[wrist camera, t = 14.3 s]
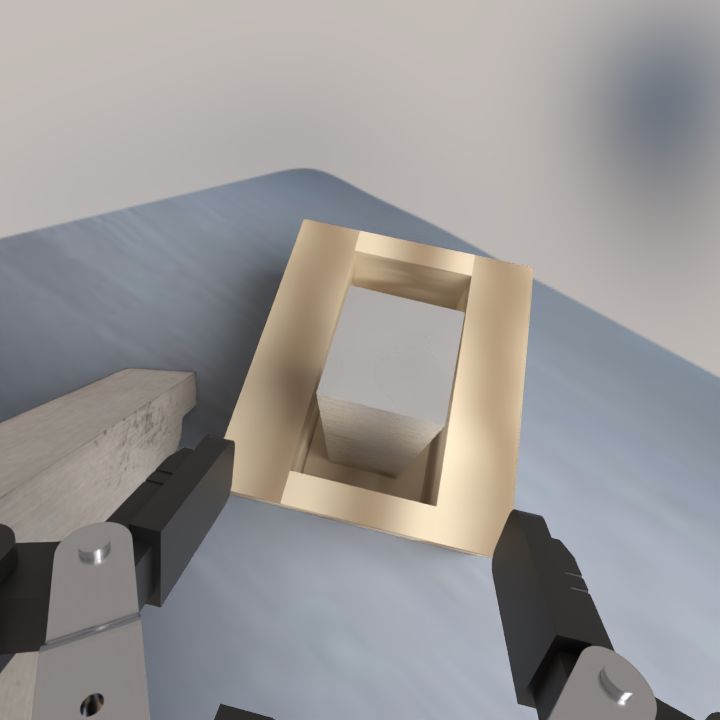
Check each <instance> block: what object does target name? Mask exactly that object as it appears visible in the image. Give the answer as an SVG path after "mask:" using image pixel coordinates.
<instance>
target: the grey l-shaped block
mask: <svg viewBox="0 0 720 720" xmlns="http://www.w3.org/2000/svg"><path fill="white" fill-rule="evenodd" d="M464 315H465V312H461V311H457V310H453V309H449V308H444V307H440V306H436V305H432V304H427V303H423V302H419V301H415V300H410V299H406V298H402V297H398V296H394V295H389V294H385V293H381V292H377V291H372V290H368V289H364V288H360V287H355V286H351V285H350V286H349V289H348V292H347V295H346V299H345V302H344V305H343V308H342V312H341V315H340V318H339V321H338V324H337V328H336V331H335V334H334V337H333V341H332V344H331V347H330V350H329V354H328V357H327V360H326V363H325V366H324V370H323V373H322V376H321V379H320V383H319V386H318V389H317V392H316V394H317V399H318V404H319V410H320V415H321V420H322V425H323V431H324V436H325V441H326V446H327V451H328V457H329V462H332V463H336V464H340V465H344V466H348V467H351V468H355V469H359V470H363V471H366V472H370V473H374V474H378V475H382V476H385V477H389V478H393V479H396V478H397V477H398V476H399V475H400V473H401V472H402V471H403V470H404V469H405V468H406V467H407V466H408V465H409V464H410V463H411V462H412V461H413V460H414V458H415V457H416V456H417V455H418V454H419V453H420V452H421V451H422V450H423V449H424V448H425V447H426V446H427V445H428V443H429V442H430V441H431V440H432V439H433V438H434V437H435V436H436V435H437V434H438V433H439V432H440V431H441V430H442V428H443V427H444V426H445V423H446V418H447V412H448V406H449V401H450V395H451V389H452V383H453V378H454V372H455V366H456V361H457V355H458V349H459V344H460V338H461V332H462V326H463V321H464Z"/></svg>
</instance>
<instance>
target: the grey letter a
mask: <svg viewBox="0 0 720 720" xmlns="http://www.w3.org/2000/svg"><path fill="white" fill-rule="evenodd" d="M196 401H197V399H196V372H184V371H167V370H150V369H133V368H126V369H123V370H121V371H119V372H116V373H114V374H112V375H109V376H107V377H105V378H103V379H100V380H98V381H96V382H93V383H91V384H89V385H86V386H84V387H82V388H79V389H77V390H75V391H72V392H70V393H68V394H66V395H63V396H61V397H59V398H56V399H54V400H52V401H49V402H47V403H45V404H42V405H40V406H38V407H36V408H33V409H31V410H29V411H26V412H24V413H22V414H19V415H17V416H15V417H12V418H10V419H8V420H5V421H3V422H1V423H0V524H4V525H6V526H8V527H10V528H11V529H12V530H13V532H14V533H15V539H16V543H26V542H56V541H62V540H63V539H64V538H65V537H67V536H68V535H69V534H70V533H72V532H74V531H75V530H77V529H79V528H81V527H84V526H86V525H90V524H93V523H99V522H105V521H106V520H107V519H108V518H109V517H110V516H111V515H112V514H113V513H114V512H115V511H116V510H117V509H118V508H119V506H120V505H121V504H122V503H123V502H124V501H125V500H126V499H127V498H128V497H129V496H130V495H131V494H132V493H133V492H134V491H135V490H136V489H137V488H138V487H139V486H140V485H141V484H142V483H143V482H145V481H146V479H147V477H148V476H149V475H150V474H151V473H152V472H153V471H154V472H155V470H156V468H157V467H158V466H159V465H160V464H161V463H162V462H163V461H164V460H165V459H166V458H167V457H168V456H170V455H172V454H174V453H176V451H177V448H178V445H179V442H180V439H181V435H182V423H183V417H184V416H185V415H186V414H187V413H188V412H189V411H191V410H192V409H193V408H194V407H195V406H196ZM38 655H39V651H37V652H26V653H16V654H15V656H14V657H13V658H12V659H11V661H10V662H9V663H8V664H7V666H6V667H5V668H4V669H3V671H2V672H1V673H0V720H31V716H32V707H33V698H34V689H35V680H36V670H37V662H38Z"/></svg>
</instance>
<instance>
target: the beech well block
mask: <svg viewBox="0 0 720 720" xmlns="http://www.w3.org/2000/svg"><path fill="white" fill-rule="evenodd" d="M533 269H534V268H533V267H528V266H523V265H519V264H514V263H509V262H505V261H500V260H495V259H491V258H486V257H481V256H476V255H472V254H467V253H462V252H458V251H453V250H448V249H444V248H439V247H434V246H429V245H425V244H420V243H415V242H411V241H406V240H401V239H396V238H392V237H387V236H382V235H378V234H373V233H368V232H364V231H359V230H354V229H349V228H345V227H340V226H335V225H331V224H326V223H321V222H316V221H312V220H307V219H304V221H303V223H302V226H301V229H300V232H299V234H298V237H297V240H296V243H295V245H294V248H293V251H292V253H291V256H290V259H289V262H288V264H287V267H286V270H285V273H284V275H283V278H282V281H281V284H280V286H279V289H278V292H277V295H276V297H275V300H274V303H273V306H272V308H271V311H270V314H269V316H268V319H267V322H266V325H265V327H264V330H263V333H262V336H261V338H260V341H259V344H258V347H257V349H256V352H255V355H254V358H253V360H252V363H251V366H250V369H249V371H248V374H247V377H246V379H245V382H244V385H243V388H242V390H241V393H240V396H239V399H238V401H237V404H236V407H235V410H234V412H233V415H232V418H231V421H230V423H229V426H228V429H227V432H226V434H225V437H224V439H228V440H232V441H234V442H235V455H234V467H233V478H232V486H231V491H230V493H231V494H234V495H236V496H240V497H244V498H248V499H252V500H256V501H260V502H264V503H267V504H271V505H275V506H279V507H283V508H287V509H291V510H295V511H299V512H303V513H307V514H311V515H315V516H319V517H323V518H327V519H331V520H335V521H339V522H343V523H347V524H351V525H355V526H358V527H362V528H366V529H370V530H374V531H378V532H382V533H386V534H390V535H394V536H398V537H402V538H406V539H410V540H414V541H418V542H422V543H426V544H430V545H434V546H438V547H442V548H446V549H449V550H453V551H457V552H461V553H465V554H469V555H475V556H481V557H487V558H493V553H494V549H495V547H496V544H497V542H498V540H499V537H500V535H501V533H502V530H503V528H504V525H505V523H506V521H507V518H508V516H509V514H510V512H511V511H512V510H513V509H514V497H515V485H516V473H517V461H518V449H519V437H520V425H521V413H522V401H523V389H524V377H525V365H526V353H527V341H528V329H529V317H530V305H531V293H532V281H533ZM350 285H351V286H355V287H360V288H364V289H368V290H372V291H377V292H381V293H385V294H389V295H394V296H398V297H402V298H406V299H410V300H415V301H419V302H423V303H427V304H432V305H436V306H440V307H444V308H449V309H453V310H457V311H461V312H465V315H464V321H463V326H462V332H461V338H460V344H459V349H458V355H457V361H456V366H455V372H454V378H453V383H452V389H451V395H450V401H449V406H448V412H447V418H446V423H445V426H444V427H443V428H442V430H441V431H440V432H439V433H438V434H437V435H436V436H435V437H434V438H433V439H432V440H431V441H430V442H429V443H428V445H427V446H426V447H425V448H424V449H423V450H422V451H421V452H420V453H419V454H418V455H417V456H416V457H415V458H414V460H413V461H412V462H411V463H410V464H409V465H408V466H407V467H406V468H405V469H404V470H403V471H402V472H401V473H400V475H399V476H398V477H397V478H396V479H393V478H389V477H385V476H382V475H378V474H374V473H370V472H366V471H363V470H359V469H355V468H351V467H348V466H344V465H340V464H336V463H332V462H329V457H328V451H327V446H326V441H325V436H324V431H323V425H322V420H321V415H320V410H319V404H318V399H317V394H316V392H317V389H318V386H319V383H320V379H321V376H322V373H323V370H324V366H325V363H326V360H327V357H328V354H329V350H330V347H331V344H332V341H333V337H334V334H335V331H336V328H337V324H338V321H339V318H340V315H341V312H342V308H343V305H344V302H345V299H346V295H347V292H348V289H349V286H350Z"/></svg>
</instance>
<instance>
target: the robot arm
mask: <svg viewBox="0 0 720 720" xmlns="http://www.w3.org/2000/svg"><path fill="white" fill-rule="evenodd" d="M234 455H235V442H234V441H232V440H228V439H224V438H220V437H216V436H211V435H207V436H206V437H205V438H204V439H203V440H202V441H201V443H200V444H199V445H198V446H197V447H196V448H195V449H194V450H192V449H188V448H183V449H181V450H180V451H178V452H176V453H174V454H172V455H170V456H168V457H167V458H166V459H165V460H164V461H163V462H162V463H161V464H160V465H159V466H158V467H157V468H156V470H155V472H154V471H153V472H152V473H151V474H150V475H149V476H148V477H147V479H146V481H145V482H143V483H142V484H141V485H140V486H139V487H138V488H137V489H136V490H135V491H134V492H133V493H132V494H131V495H130V496H129V497H128V498H127V499H126V500H125V501H124V502H123V503H122V504H121V505H120V506H119V508H118V509H117V510H116V511H115V512H114V513H113V514H112V515H111V516H110V517H109V518H108V519H107V520H106V521H105V522H99V523H93V524H90V525H86V526H84V527H81V528H79V529H77V530H75V531H74V532H72V533H70V534H69V535H68V536H67V537H65V538H64V539H63V540H62V541H56V542H26V543H16V539H15V533H14V532H13V530H12V529H11V528H10V527H8V526H6V525H4V524H0V673H1V672H2V671H3V669H4V668H5V667H6V666H7V664H8V663H9V662H10V661H11V659H12V658H13V657H14V656H15V654H16V653H26V652H37V651H39V655H38V662H37V670H36V680H35V689H34V698H33V707H32V716H31V720H150V709H149V699H148V688H147V677H146V667H145V656H144V645H143V635H142V624H141V616H140V614H139V612H140V611H141V609H142V608H143V606H144V605H145V603H146V604H150V605H154V606H157V607H161V606H162V604H163V603H164V601H165V600H166V598H167V596H168V595H169V593H170V592H171V590H172V588H173V587H174V585H175V584H176V582H177V580H178V579H179V577H180V576H181V574H182V572H183V571H184V569H185V568H186V566H187V565H188V563H189V561H190V560H191V558H192V557H193V555H194V553H195V552H196V550H197V549H198V547H199V545H200V544H201V542H202V541H203V539H204V537H205V536H206V534H207V533H208V531H209V530H210V528H211V526H212V525H213V523H214V522H215V520H216V518H217V517H218V515H219V514H220V512H221V510H222V509H223V507H224V506H225V504H226V502H227V499H228V497H229V494H230V491H231V486H232V478H233V467H234ZM492 574H493V579H494V584H495V590H496V595H497V600H498V605H499V610H500V615H501V620H502V625H503V630H504V636H505V641H506V646H507V651H508V656H509V661H510V666H511V671H512V676H513V681H514V687H515V692H516V697H517V702H518V704H521V705H525V706H529V707H532V708H536V709H537V714H538V718H539V720H695V719H693V718H691V717H689V716H687V715H686V714H684V713H682V712H680V711H678V710H677V709H675V708H673V707H671V706H669V705H668V704H666V703H664V702H662V701H661V700H659V699H657V698H656V697H654V694H653V692H652V690H651V688H650V686H649V684H648V683H647V681H646V680H645V678H644V677H643V676H642V675H641V673H640V672H639V671H638V670H637V669H636V668H635V667H634V666H633V665H632V664H631V663H630V662H629V661H627V660H626V659H625V658H623V657H622V656H621V655H619V654H617V653H616V652H615V651H614V649H613V646H612V644H611V642H610V639H609V637H608V635H607V632H606V630H605V628H604V625H603V623H602V621H601V619H600V616H599V614H598V612H597V609H596V607H595V605H594V602H593V600H592V598H591V595H590V594H588V588H587V586H586V584H585V581H584V579H582V574H581V572H580V570H579V568H578V565H577V563H576V561H575V558H574V557H573V555H572V554H571V553H570V552H569V551H568V549H567V548H566V547H565V546H564V545H563V543H562V542H561V541H560V540H558V539H554V538H551V535H550V533H549V530H548V528H547V525H546V522H545V520H544V518H543V517H542V516H540V515H536V514H532V513H527V512H523V511H519V510H515V509H514V510H512V511H511V512H510V514H509V516H508V518H507V521H506V523H505V525H504V528H503V530H502V533H501V535H500V537H499V540H498V542H497V544H496V547H495V549H494V553H493V558H492ZM214 720H274V719H273V718H271V717H267V716H263V715H260V714H256V713H252V712H249V711H245V710H241V709H238V708H234V707H230V706H227V705H223V704H220V706H219V709H218V711H217V714H216V716H215V719H214ZM705 720H720V712H715V713H712V714H710V715H709V716H708V717H707V718H706V719H705Z"/></svg>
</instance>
